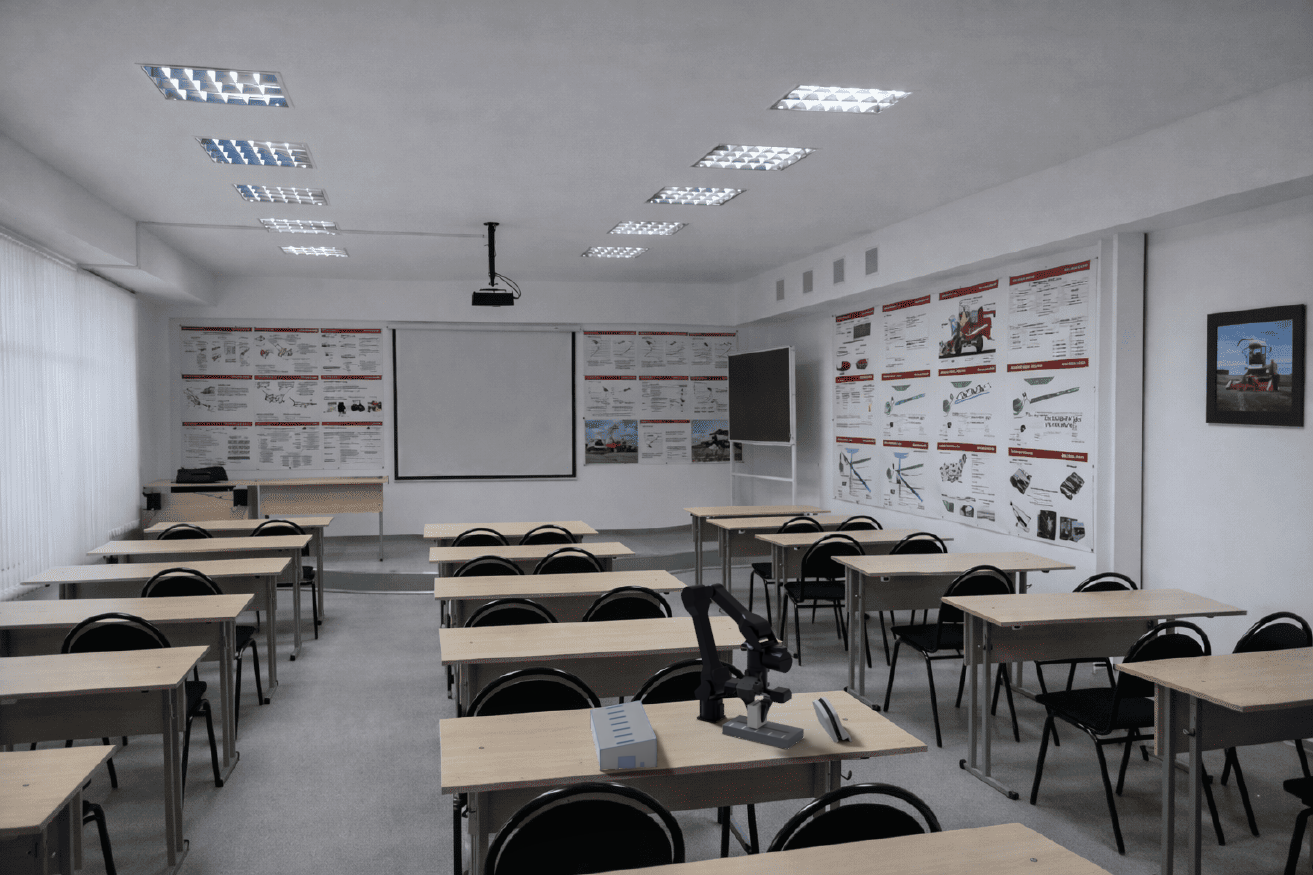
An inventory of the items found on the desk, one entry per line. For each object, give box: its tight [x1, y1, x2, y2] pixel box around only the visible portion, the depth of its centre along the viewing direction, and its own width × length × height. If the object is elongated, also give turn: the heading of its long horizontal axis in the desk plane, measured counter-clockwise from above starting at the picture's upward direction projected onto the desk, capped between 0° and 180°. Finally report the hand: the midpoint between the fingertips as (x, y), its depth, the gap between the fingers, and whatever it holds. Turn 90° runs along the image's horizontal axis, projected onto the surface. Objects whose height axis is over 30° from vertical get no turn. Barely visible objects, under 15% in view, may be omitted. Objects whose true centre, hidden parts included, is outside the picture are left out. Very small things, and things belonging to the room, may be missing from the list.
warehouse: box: [589, 699, 658, 771], centre depth 224 cm, size 30×14×8 cm, turn 9°
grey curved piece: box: [811, 696, 853, 743], centre depth 235 cm, size 17×5×10 cm, turn 4°
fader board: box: [721, 714, 805, 750], centre depth 231 cm, size 20×10×3 cm, turn 55°
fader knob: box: [746, 699, 768, 729], centre depth 232 cm, size 3×6×6 cm, turn 145°
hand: (757, 721), depth 232 cm, fingers closed on fader knob, 3 cm apart
